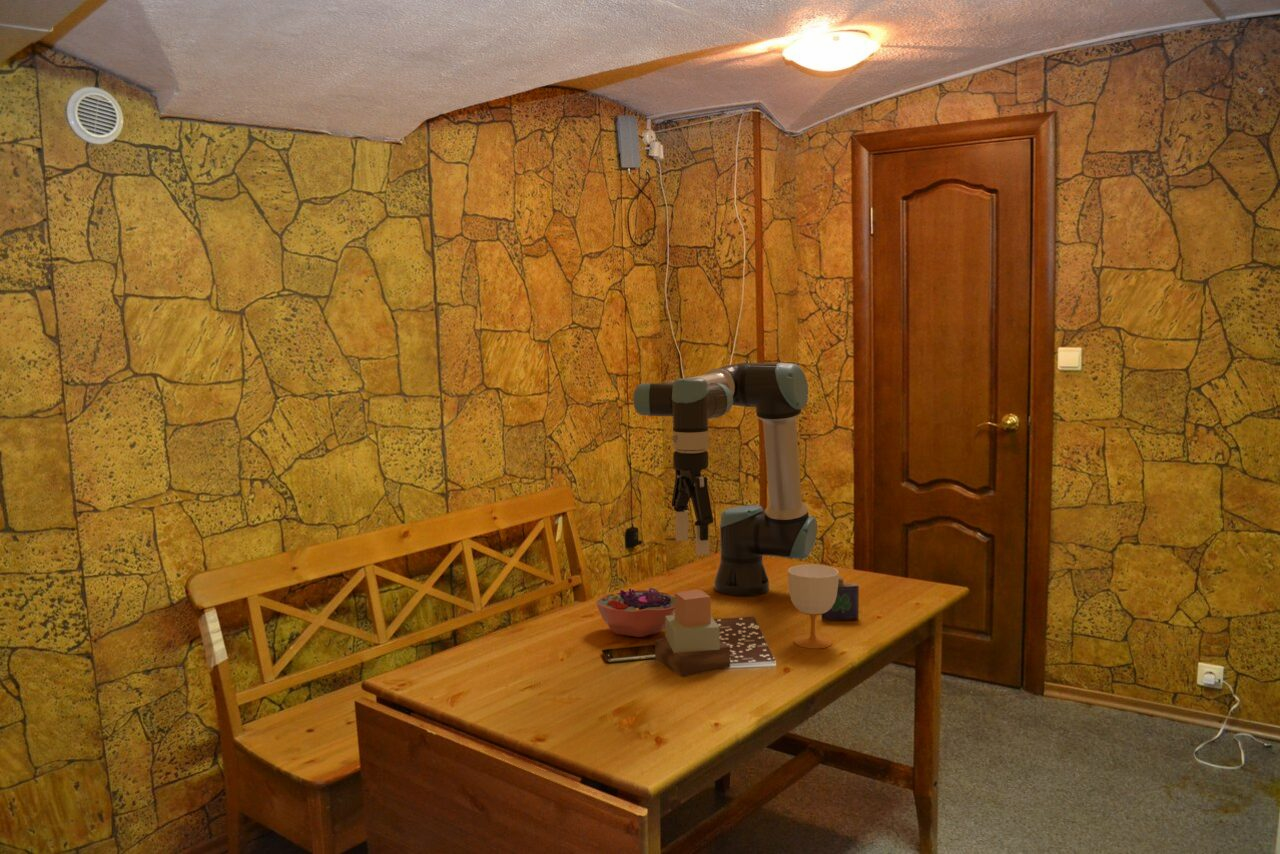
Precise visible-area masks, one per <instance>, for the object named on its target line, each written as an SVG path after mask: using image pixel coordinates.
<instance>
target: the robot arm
mask: <svg viewBox="0 0 1280 854" xmlns="http://www.w3.org/2000/svg"><path fill="white" fill-rule="evenodd" d="M808 395H809V385H808V381H807V377H806V375H805V372H804V371H803V369H802V368H801V367H800V366H799V365H798V364H797V363H796V364H795V363H788V362H739V363H734V364H730V365H726V366H721V367H717V368H712V369H710V370H708V371H707V372H706V373H705V374H702V375H697V376H692V377H687V378H686V377H685V378H676V379H675V380H669V381H664V382H658V383H657V382H656V383H655V382H654V383H652V382H647V383H640V384H638V385H637V386H636V388H635V389H634V392H633V407H634V409H635V411H636V413H637V414H638V415H640V416H646V417H647V416H648V417H672V426H673V427H672V434H673V435H672V436H670V439H671V441H673V446H672V447H673V449H674V450H675V451H674V452H673V453H672V456H673V457H672V459H673V461H672V462H673V464H672V465H673V469H675V478H674V479H675V480H674V484H673V485H674V486H673V491H672V498H671V507H673V509H674V513H675V516H674V517H675V520H674V521H675V522H674V523H675V526H674V528H675V541H676V542H680V541H681V542H682V541H689V519H688V518H689V515H688V514H689V510H690V508H689V506H688V504H689V501H690V499H691V504H692V507H693V511H694V516H695V520H696V521H695V522H694V523H693V524H694V527H695V555H696V556H698V557H699V556H705V555H706V556H707V555H710V524H713V523H714V517H713V511H712V506H711V499H710V495H709V494H710V493H709V488H708V487H709V485H708V477H707V476H702V471H703V470H706V469H707V468H709V452H708V451H707V449H709V420H710V419H715V418H717V419H718V418H720V417H722V416H724V415H726V414H728V413H729V412H730V410H731V409H732V407H733V406H734V407H736V406H737V407H742V408H743V407H746V408H755V413H756V417H757V418H758V419H759V420H760V421H762V427H763V428H762V430H763V438H764V439H763V440H764V441H763V442H764V451H765V462H766V463H765V464H766V475H767V486H768V499H769V505H768V506H767V507H766V508H765V509H763V507H762V506H761V505H754V504H751V505H740V506H739V505H738V506H734V507H730V508H726V509H725V510H723V511H722V513H721V515H720V525H719V528H720V533H719V534H720V563H719V566H718V569H717V571H716V572H717V573H716V576H715V579H714V590H715V591H717V592H719V593H721V594H724V595H728V596H729V595H730V596H737V597H738V596H740V597H742V596H745V597H747V596H757V595H761V594H762V595H763V594H764V593H766V592H768V591H769V590H770V582H769V580H770V579H769V577H768V574H767V572H766V568H765V565H764V562H763V556H769V557H770V556H771V557H778V558H785V559H786V558H787V559H790V560H793V559H797V560H798V559H799V560H804V559H807V558H808V557H809V556H810V555H811V553H812V551H813V549H814V546H815V543H816V540H817V535H818V521H817V519H816V517H814V516H810V515H809V508H808V506H807V505H805V503H803V500H802V499H803V498H802V497H803V496H802V487H801V486H802V484H801V471H800V459H799V446H798V445H799V443H798V432H797V418H798V417H800V415H801V414H802V409H804V408H806V406H807V404H808V400H809V399H808V398H809V397H808Z"/></svg>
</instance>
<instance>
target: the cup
mask: <svg viewBox="0 0 1280 854" xmlns="http://www.w3.org/2000/svg"><path fill="white" fill-rule="evenodd" d="M839 574H840V572H839V570H838V569H837V568H835V567H831V566H828V565H824V564H809V563H808V564H807V563H806V564H798V565H794V566H791V567H790V568H788V569H787V578H788V579H787V580H788V581H787V583H788V589H789V590H788V592H789V596H790V600H791V603H792V604H793V606H794V608H795V609H796V610H798V611H799V612H801V613H802V614H804V615H808V616H809V617H810V634H802V635H797V636H795V637H794V638H793V643H794V645H796V646H798V647H801V648H805V649H811V650H812V649H816V650H818V649H826V648H829V647H830V646H831V645H833V640H832V639H831V638H829V637H827V636H824V635H819V634H816V617H817V616H820V615H821V614H823V613H826V612H827V611H829V610H830V609H831V608H832V606H833V605H834V603H835V600H836V597H837V590H838V580H839V578H840V575H839ZM821 616H822V615H821Z"/></svg>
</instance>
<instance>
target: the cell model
mask: <svg viewBox="0 0 1280 854" xmlns="http://www.w3.org/2000/svg"><path fill="white" fill-rule="evenodd" d="M619 590H620V589H619ZM595 604H596V607H597V609H598V612H599V614H600V617H601V618H602V619H603V621H604V623H605V624H606V625H607V626H608V628H609V629H610V631H612V632H613V633H615V634H617V635H621V636H629V637H635V638H643V637H647V636H652V635H653V636H654V635H656V634H658V633H660V632H661V631H663V630H665V616H670V615H675V601H674V595H671V594H669V593H666V592H664V591H663V592H662V591H661V592H660V591H659V590H658V589H656V588H653V587H649V589H648V590H647V589H645V590H644V589H641V590H640V589H639V590H638V589H637V590H635V589H632V588H629V589H628V591H627V590H626V591H625V590H622V589H621V590H620V591H619V592H616V593H609V594H605V595H603V596H601V597H600V598H598V599H597V600H596V601H595Z"/></svg>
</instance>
